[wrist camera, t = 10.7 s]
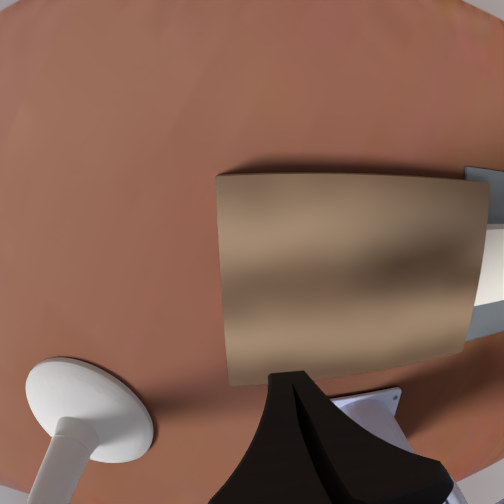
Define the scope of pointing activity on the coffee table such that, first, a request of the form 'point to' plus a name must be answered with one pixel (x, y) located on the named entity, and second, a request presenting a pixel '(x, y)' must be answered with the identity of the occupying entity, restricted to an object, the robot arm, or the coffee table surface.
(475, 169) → the mat
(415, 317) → the brown box
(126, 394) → the candlestick
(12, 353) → the coffee table surface
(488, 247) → the white box with patch
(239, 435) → the coffee table surface
